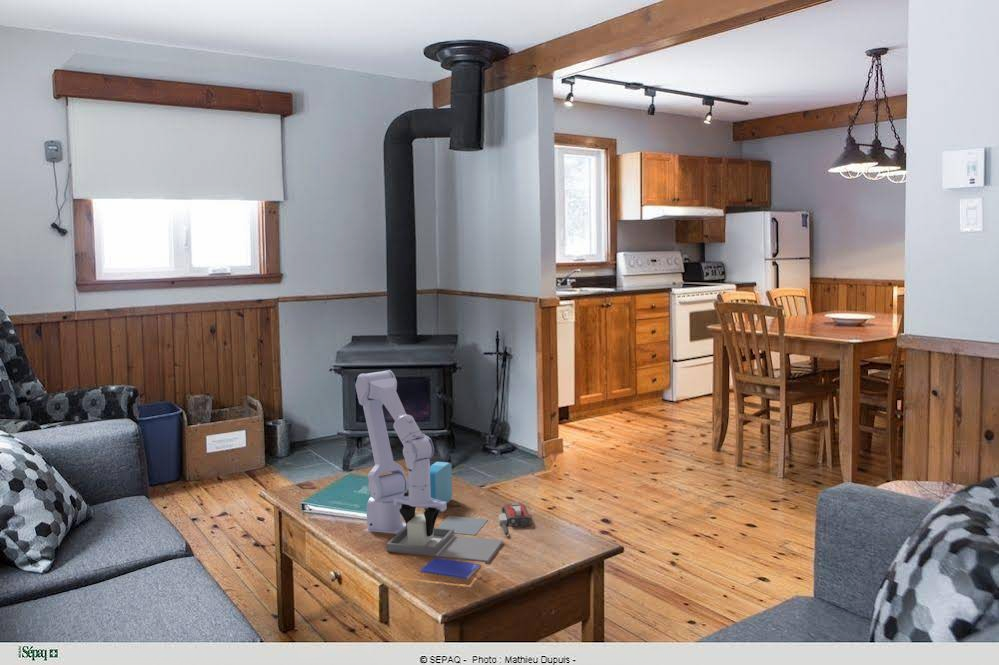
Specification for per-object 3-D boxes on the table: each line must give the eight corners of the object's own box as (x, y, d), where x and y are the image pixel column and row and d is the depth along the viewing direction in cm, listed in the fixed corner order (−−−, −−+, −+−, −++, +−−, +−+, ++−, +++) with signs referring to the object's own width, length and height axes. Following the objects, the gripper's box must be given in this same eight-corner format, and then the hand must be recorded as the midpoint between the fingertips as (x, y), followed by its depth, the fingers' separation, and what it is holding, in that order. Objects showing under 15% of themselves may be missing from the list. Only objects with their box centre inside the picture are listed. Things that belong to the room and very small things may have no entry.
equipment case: (386, 553, 203) (386, 543, 203) (407, 533, 216) (407, 524, 216) (487, 563, 195) (487, 553, 195) (502, 542, 208) (502, 533, 208)
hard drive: (480, 563, 193) (435, 556, 198) (466, 577, 186) (420, 569, 190) (481, 569, 193) (435, 562, 198) (467, 583, 186) (420, 575, 190)
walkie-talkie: (495, 513, 232) (502, 539, 212) (495, 498, 231) (502, 523, 212) (524, 511, 233) (535, 537, 213) (524, 497, 232) (534, 521, 212)
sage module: (407, 545, 205) (407, 522, 204) (418, 535, 211) (417, 513, 211) (424, 546, 204) (423, 524, 203) (433, 536, 210) (433, 515, 209)
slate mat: (433, 533, 216) (433, 530, 216) (448, 517, 228) (448, 515, 228) (475, 537, 213) (475, 534, 213) (488, 521, 224) (488, 519, 224)
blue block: (439, 497, 245) (438, 460, 244) (452, 499, 244) (451, 461, 243) (423, 510, 234) (421, 471, 233) (437, 512, 233) (435, 472, 231)
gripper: (451, 481, 207) (452, 531, 208) (401, 476, 212) (403, 525, 214) (439, 490, 200) (440, 541, 202) (389, 484, 205) (390, 534, 207)
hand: (420, 533), depth 207 cm, fingers closed on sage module, 5 cm apart
